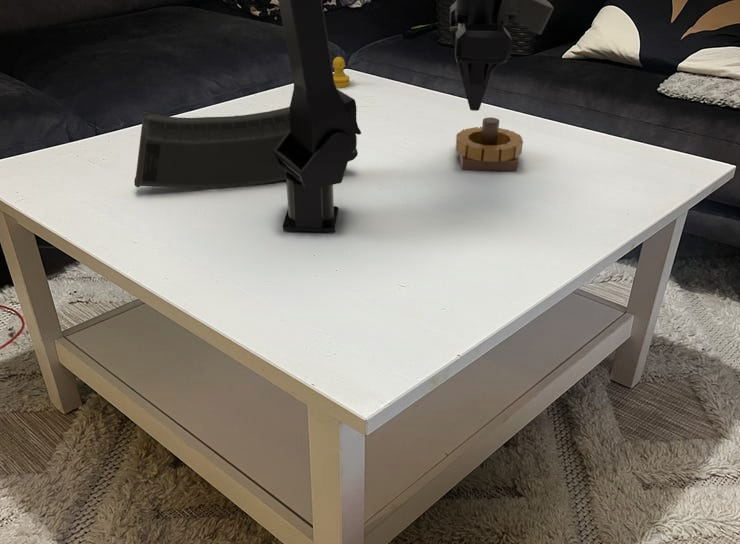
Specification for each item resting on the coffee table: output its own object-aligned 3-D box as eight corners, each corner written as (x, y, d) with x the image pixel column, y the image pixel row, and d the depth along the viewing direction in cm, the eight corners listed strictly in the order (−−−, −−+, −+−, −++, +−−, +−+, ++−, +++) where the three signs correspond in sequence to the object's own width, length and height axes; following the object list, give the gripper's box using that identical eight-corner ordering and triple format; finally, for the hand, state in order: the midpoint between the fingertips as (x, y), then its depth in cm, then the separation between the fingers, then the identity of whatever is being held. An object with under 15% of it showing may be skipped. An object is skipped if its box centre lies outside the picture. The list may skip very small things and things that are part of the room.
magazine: (104, 131, 92) (324, 45, 93) (104, 123, 95) (319, 39, 96) (165, 243, 103) (362, 166, 104) (164, 233, 106) (357, 157, 106)
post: (516, 171, 106) (522, 130, 103) (461, 169, 107) (465, 128, 103) (510, 150, 113) (515, 111, 109) (458, 149, 113) (461, 110, 109)
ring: (524, 162, 105) (526, 150, 104) (457, 161, 105) (458, 148, 104) (517, 139, 113) (518, 127, 111) (454, 137, 113) (455, 126, 112)
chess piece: (328, 87, 139) (327, 59, 136) (329, 81, 142) (329, 54, 139) (348, 87, 138) (348, 59, 136) (350, 81, 142) (349, 54, 139)
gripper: (567, -23, 78) (545, 124, 87) (542, -49, 92) (525, 79, 102) (462, -24, 78) (451, 122, 87) (453, -50, 93) (445, 77, 102)
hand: (472, 98), depth 95 cm, fingers open, 9 cm apart
